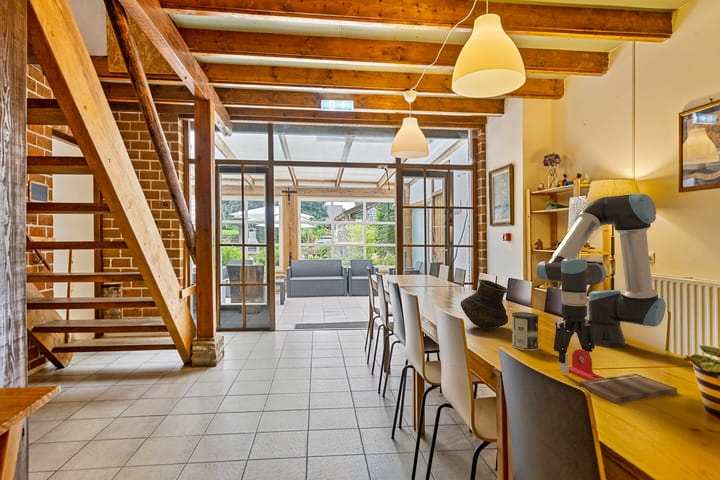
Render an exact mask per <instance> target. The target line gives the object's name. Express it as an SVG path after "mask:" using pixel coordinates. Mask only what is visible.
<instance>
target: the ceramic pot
mask: <svg viewBox="0 0 720 480" xmlns="http://www.w3.org/2000/svg"><path fill="white" fill-rule="evenodd" d="M478 282H479V285H478V288H477V290H476V291H475V293H473V294H472V295H469V296H467V297H465V299H462V300H461V302H460V307H461V309H462V311H463V313H464V315H466V317H467V318H468V319H469V320H470V322H471V323H472V324H473V325H474V326H477V327H479V328H482V329H492V328H499V327H503V326H505V325H507V324H508V323H509V316H508V314H507V309H506V308H505V306H504V302H503V299H504V296H505V294H506V293H509V289H508V288H507V287H506V286H504V285H501V284H499V283H496V282H493V281H490V280H487V279H478Z"/></svg>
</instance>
